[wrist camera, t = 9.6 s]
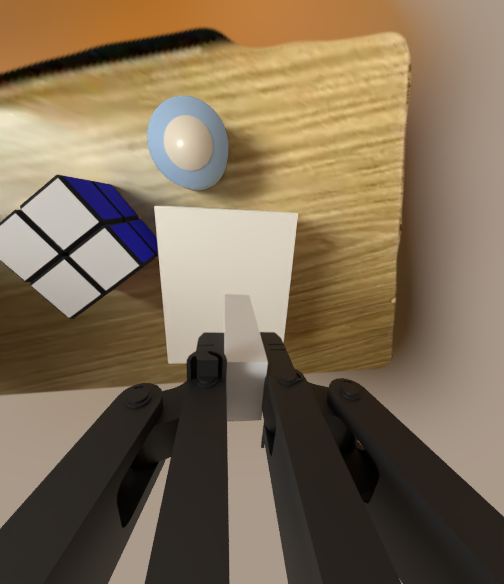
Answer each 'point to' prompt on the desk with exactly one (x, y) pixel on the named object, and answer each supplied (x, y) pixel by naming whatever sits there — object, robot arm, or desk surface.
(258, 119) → the desk surface
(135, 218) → the puzzle cube
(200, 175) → the blue domed cylinder
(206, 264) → the hinged white flap
